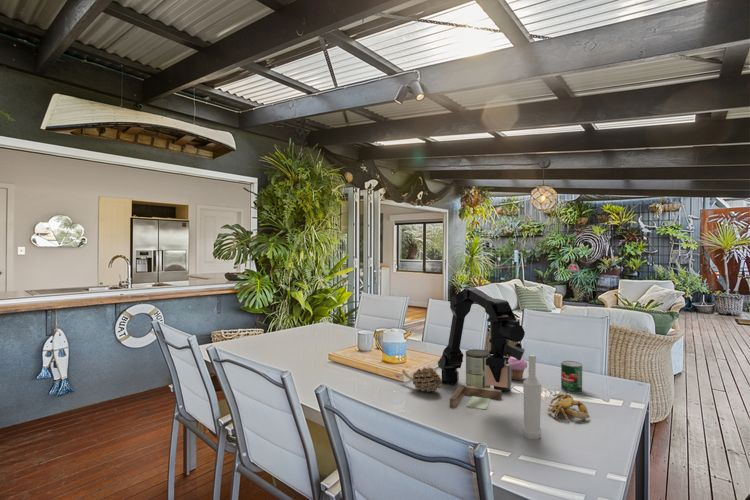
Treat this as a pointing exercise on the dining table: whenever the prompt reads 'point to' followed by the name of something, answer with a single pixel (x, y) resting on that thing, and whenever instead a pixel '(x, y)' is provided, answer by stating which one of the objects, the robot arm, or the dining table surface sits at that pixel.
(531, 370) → the bottle
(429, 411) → the dining table surface
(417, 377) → the pine cone
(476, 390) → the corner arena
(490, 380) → the terracotta block
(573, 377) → the canned tomato
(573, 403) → the crab model
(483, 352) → the coffee can
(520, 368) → the cupcake
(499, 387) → the supplement bottle
